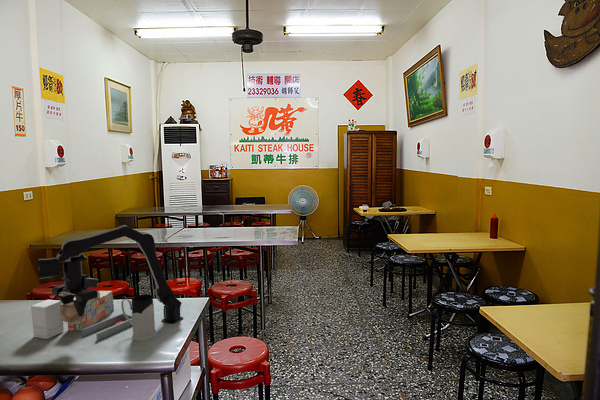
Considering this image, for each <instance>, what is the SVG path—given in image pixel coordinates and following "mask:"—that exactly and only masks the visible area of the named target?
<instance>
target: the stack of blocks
mask: <svg viewBox="0 0 600 400" xmlns="http://www.w3.org/2000/svg"><path fill="white" fill-rule="evenodd" d="M97 291H98V297H97V298H94V299H91V300H89V301H88V302H87V304H86V307H85V318H82V319H80V320H77V321H74V322H72V323H68V322H67V328H68V329H67V330H68V331H71V332H72V331H73V332H75V331H76V332H77V331H78V332H82V329H84V328H87V327H89V326H92V325H94V324H97V323H98V321H100V320H101V319H103V318H104V317H106V316H107V315H109V314H111V313H112V312H114V310H115V309H114V307H115V306H114V297H113V296H114V295H113V294H114V293H113V291H112V290H97ZM74 300H76V297H74Z"/></svg>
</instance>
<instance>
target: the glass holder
mask: <svg viewBox="0 0 600 400" xmlns="http://www.w3.org/2000/svg"><path fill="white" fill-rule="evenodd" d="M124 301H127V302H128V303H129V308H130V310H131V315H132V322H131V321H130V320H129V318H128V317H127V316H126V314H127V313H126V312H125V307H124ZM121 310H122V313H123V314H124V316H125V318H126V319H127V320H128V321H129V322H130V323H131V324H132V325H131V326H132V336H131V339H132V340H134V341H146V340H150V339H153V338H154V337H155V336H156V335H157V331H156V328H155V327H156V326H155V325H156V324H155V323H156V322H155V306H154V296H153V295H152V294H139V295H136V296H133V297H132V298H131V300H130V299H128V298H125V299H123V300H122V301H121ZM125 313H126V314H125Z"/></svg>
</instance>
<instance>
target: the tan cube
mask: <svg viewBox="0 0 600 400" xmlns="http://www.w3.org/2000/svg"><path fill="white" fill-rule="evenodd" d="M60 314H61V321H63V322H64V323H67V324H68V323H72V322H74V321H77V320H80V319H82V318H85V310H84V314H83V316H81V317H80V316H79V315H78V312H77V310H76V308H75V305H74V303H73V301H72V302H69V303H67V304H64V305H63V304H62V305H61V306H60Z"/></svg>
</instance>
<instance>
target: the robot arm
mask: <svg viewBox="0 0 600 400" xmlns="http://www.w3.org/2000/svg"><path fill="white" fill-rule="evenodd" d="M123 237H126V238H128V239H131V240H133V241H134V242H136V244H137V246H138V247H139V249H140V250H141V252H142V253H143V255H144V256H145V259H146V261H147V265H148V267H149V269H150V273H151V274H152V277H153V279H154V281H155V286H156V287H155V289H153V292H154V294H155V299H156V300H157V301H159V303H161V304H162V305H163V319H161V322H162V323H163V322H164V323H168V324H172V325H173V324H175V323H177V322H178V321H180V320H183V319H184V316H181V307H182V303H183V302H182V301H181V300H179V299H178V297H176V296H177V295H175V293H174V291H173V289H172V288H171V287H170V285H169V284H168V282H167V280H166V277H165V274H164V272H163V269H162V266H161V264H160V261H159V259H158V256H157V252H156V243H155V239H154V236H153V235H152V234H150V233H149V232H146V231H138V230H136V229H134V228H131V227H129V226H128V225H126V224H123V225H120V226H117V227H115V228H112V229H111V228H110V229H108V230H105V231H104V230H103V231H102V232H99V233H95V234H93V235H89V236H80V237H79V236H78V237H71V238H67V239H66V240H65V239H64V240H63V242H62V244H61V249H60V251H59V252H58V253H57V254H56V257H49V258H39V259H38V278H39V280H41V279H42V280H43V279H48V278H54V277H59V275H60V274H61V273H63V277H61V281H63V282H64V283H62V284H59V285H55V286H53V288H52V289H51V295H52V296H56V298H57V299H58V301H61V304H62V305H64V304H67V303H69V302H72V301H73V303H74V305H75V308H76V310H77V312H78V315H79V316H80V317H81V316H83V314H84V310H85V307H86V304H87V302H88V301H89V300H91V299H94V298H97V297H98V291H99V290H96V289H97V288H98V284H99V279H98V278H92V277H90V276H89V274H88V275H87V274H83V265H82V262H84V261H88V258H87V256H86V255H84V254H83V253H84V252H86V251H88V250H89V249H90V248H93V247H96V246H99V245H103V244H105V243H107V242H111V241H114V240H117V239H120V238H123ZM62 264H63V265H62ZM62 267H63V271H62ZM93 288H95V289H93ZM74 297H76V300H74Z"/></svg>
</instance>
